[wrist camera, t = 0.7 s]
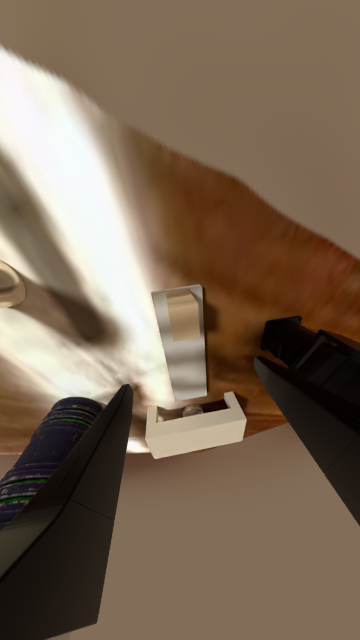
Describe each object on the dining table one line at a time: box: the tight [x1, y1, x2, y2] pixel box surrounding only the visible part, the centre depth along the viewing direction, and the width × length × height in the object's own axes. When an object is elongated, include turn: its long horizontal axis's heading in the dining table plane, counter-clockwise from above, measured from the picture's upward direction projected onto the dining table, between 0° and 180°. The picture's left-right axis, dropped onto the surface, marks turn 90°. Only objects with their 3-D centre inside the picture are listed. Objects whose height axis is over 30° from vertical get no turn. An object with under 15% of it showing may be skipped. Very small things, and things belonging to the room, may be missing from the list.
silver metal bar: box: [151, 285, 207, 402], centre depth 22 cm, size 24×7×8 cm, turn 7°
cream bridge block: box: [145, 392, 247, 459], centre depth 31 cm, size 20×9×6 cm, turn 97°
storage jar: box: [0, 397, 103, 531], centre depth 23 cm, size 10×10×15 cm
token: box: [182, 404, 204, 417], centre depth 33 cm, size 5×5×2 cm
